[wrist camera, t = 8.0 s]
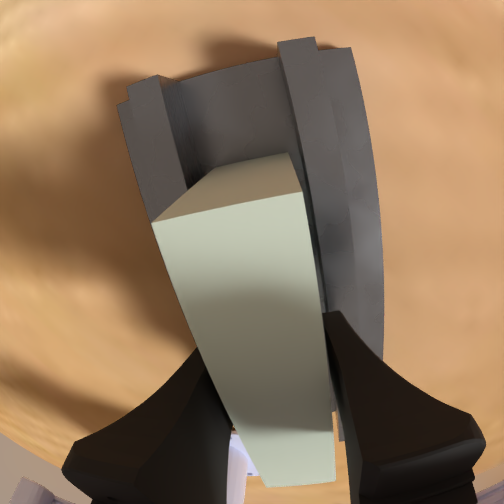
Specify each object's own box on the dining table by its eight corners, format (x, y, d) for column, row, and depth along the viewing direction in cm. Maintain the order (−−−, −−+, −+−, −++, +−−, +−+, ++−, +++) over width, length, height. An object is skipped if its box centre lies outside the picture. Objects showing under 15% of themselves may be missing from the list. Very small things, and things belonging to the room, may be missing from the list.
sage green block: (323, 372, 17) (336, 480, 10) (263, 380, 17) (255, 487, 11) (287, 152, 12) (302, 191, 6) (203, 170, 12) (130, 228, 6)
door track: (377, 393, 18) (387, 432, 15) (233, 413, 20) (227, 451, 17) (346, 51, 11) (367, 32, 8) (124, 105, 12) (85, 105, 9)
